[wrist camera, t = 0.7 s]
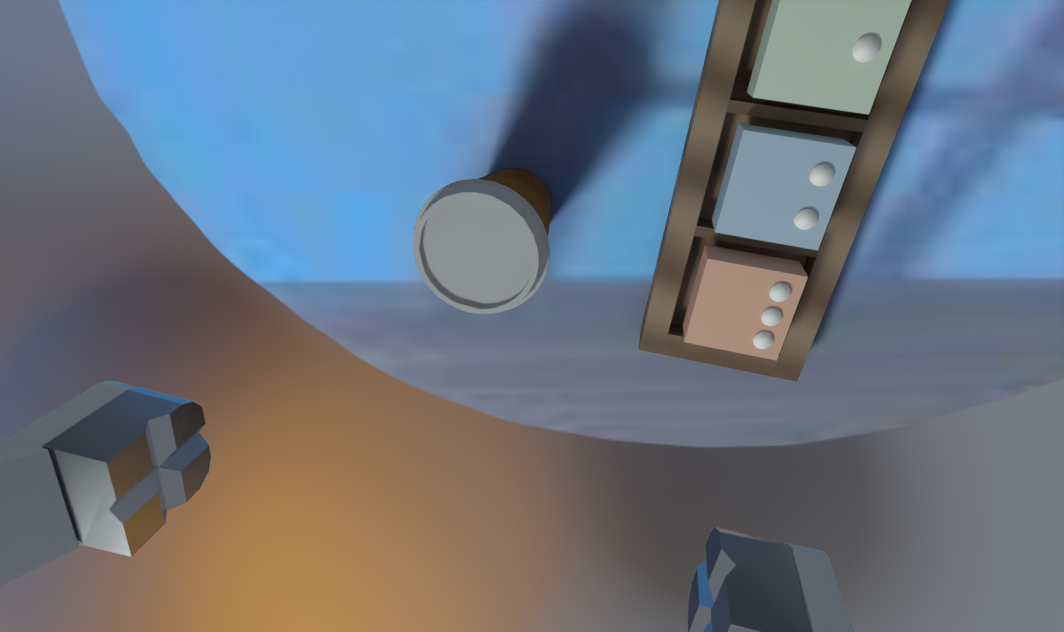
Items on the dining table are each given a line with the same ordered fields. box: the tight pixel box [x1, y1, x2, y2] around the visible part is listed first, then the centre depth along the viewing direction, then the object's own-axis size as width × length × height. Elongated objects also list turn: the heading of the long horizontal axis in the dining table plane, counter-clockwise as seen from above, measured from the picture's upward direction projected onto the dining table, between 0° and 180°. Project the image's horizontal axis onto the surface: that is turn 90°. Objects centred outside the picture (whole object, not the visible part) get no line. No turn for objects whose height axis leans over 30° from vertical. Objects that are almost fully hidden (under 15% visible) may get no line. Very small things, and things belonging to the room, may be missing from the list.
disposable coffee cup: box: [414, 168, 552, 314], centre depth 44 cm, size 10×10×12 cm
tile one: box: [747, 0, 911, 115], centre depth 36 cm, size 7×7×3 cm
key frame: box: [639, 0, 950, 381], centre depth 43 cm, size 31×13×3 cm, turn 173°
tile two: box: [712, 123, 856, 250], centre depth 40 cm, size 7×7×3 cm
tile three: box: [683, 245, 808, 361], centre depth 44 cm, size 7×7×3 cm
